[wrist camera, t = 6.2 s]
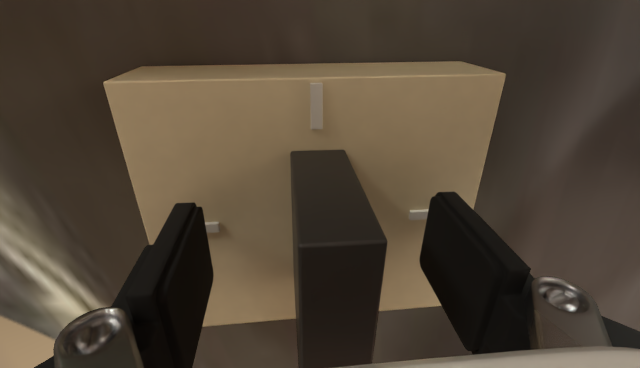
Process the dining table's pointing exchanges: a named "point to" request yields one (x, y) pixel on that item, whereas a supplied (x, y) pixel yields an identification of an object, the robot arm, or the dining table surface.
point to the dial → (334, 261)
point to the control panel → (301, 135)
